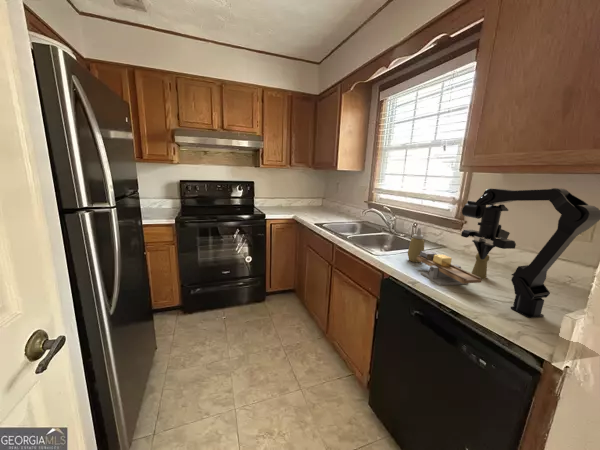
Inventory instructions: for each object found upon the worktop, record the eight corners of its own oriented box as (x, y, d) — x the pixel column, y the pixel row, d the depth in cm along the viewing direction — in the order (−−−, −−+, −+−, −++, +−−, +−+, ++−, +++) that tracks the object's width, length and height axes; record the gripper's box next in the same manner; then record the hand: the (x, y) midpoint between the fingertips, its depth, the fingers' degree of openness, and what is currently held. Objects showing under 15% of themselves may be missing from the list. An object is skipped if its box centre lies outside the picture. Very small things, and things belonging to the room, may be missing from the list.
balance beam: (481, 282, 100) (482, 277, 100) (463, 283, 98) (463, 278, 98) (431, 258, 127) (432, 255, 126) (416, 259, 125) (416, 255, 125)
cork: (489, 279, 115) (494, 256, 113) (474, 277, 116) (478, 254, 114) (482, 274, 121) (487, 252, 119) (468, 272, 122) (472, 251, 120)
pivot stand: (468, 283, 109) (471, 270, 108) (439, 285, 106) (441, 272, 105) (447, 272, 121) (449, 260, 119) (420, 274, 118) (422, 261, 116)
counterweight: (435, 259, 121) (436, 253, 121) (426, 260, 120) (427, 254, 120) (428, 256, 126) (429, 250, 126) (419, 256, 125) (420, 251, 125)
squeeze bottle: (425, 264, 131) (430, 230, 128) (408, 262, 132) (413, 229, 129) (420, 259, 139) (425, 227, 135) (405, 257, 140) (409, 226, 137)
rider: (450, 266, 113) (451, 258, 112) (440, 267, 112) (442, 258, 111) (442, 262, 118) (443, 254, 117) (432, 263, 117) (434, 254, 116)
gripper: (532, 226, 91) (522, 267, 94) (485, 216, 109) (478, 251, 112) (507, 226, 89) (498, 268, 92) (463, 216, 107) (457, 252, 110)
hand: (482, 259), depth 101 cm, fingers closed
